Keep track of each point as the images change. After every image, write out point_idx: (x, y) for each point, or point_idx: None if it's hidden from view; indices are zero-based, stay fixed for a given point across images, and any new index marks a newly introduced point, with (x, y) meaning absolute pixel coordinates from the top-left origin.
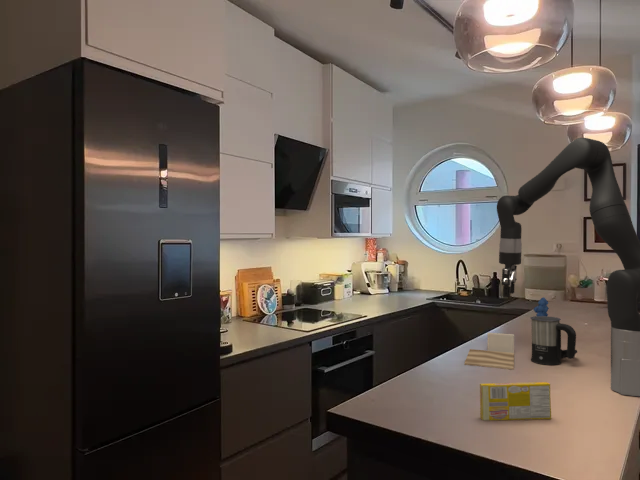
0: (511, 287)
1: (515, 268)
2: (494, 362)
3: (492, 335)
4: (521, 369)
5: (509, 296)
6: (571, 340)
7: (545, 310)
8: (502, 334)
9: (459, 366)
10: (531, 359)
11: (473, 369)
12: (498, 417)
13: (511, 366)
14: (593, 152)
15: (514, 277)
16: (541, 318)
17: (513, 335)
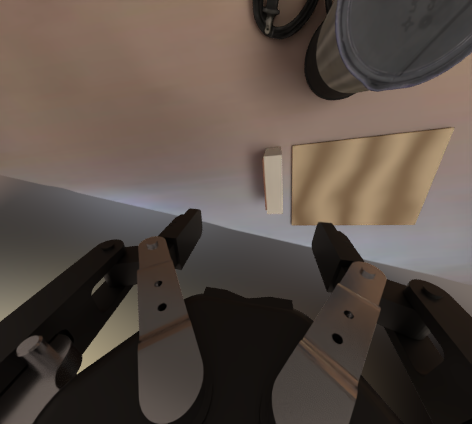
0: (189, 236)
1: (3, 368)
2: (401, 174)
3: (282, 202)
4: (445, 109)
5: (330, 223)
6: None
7: None
8: (277, 183)
9: (427, 228)
10: (345, 97)
11: (452, 205)
12: None
13: (439, 134)
14: None
15: (177, 280)
16: (428, 15)
17: (278, 156)
